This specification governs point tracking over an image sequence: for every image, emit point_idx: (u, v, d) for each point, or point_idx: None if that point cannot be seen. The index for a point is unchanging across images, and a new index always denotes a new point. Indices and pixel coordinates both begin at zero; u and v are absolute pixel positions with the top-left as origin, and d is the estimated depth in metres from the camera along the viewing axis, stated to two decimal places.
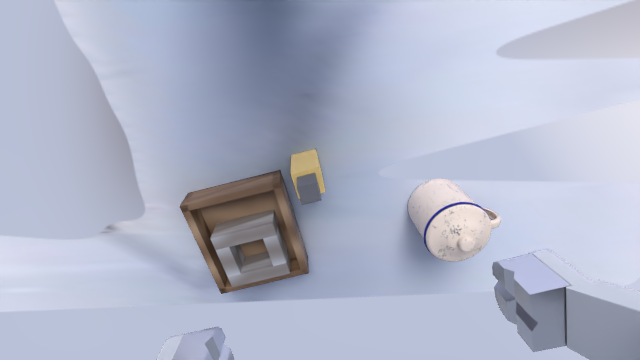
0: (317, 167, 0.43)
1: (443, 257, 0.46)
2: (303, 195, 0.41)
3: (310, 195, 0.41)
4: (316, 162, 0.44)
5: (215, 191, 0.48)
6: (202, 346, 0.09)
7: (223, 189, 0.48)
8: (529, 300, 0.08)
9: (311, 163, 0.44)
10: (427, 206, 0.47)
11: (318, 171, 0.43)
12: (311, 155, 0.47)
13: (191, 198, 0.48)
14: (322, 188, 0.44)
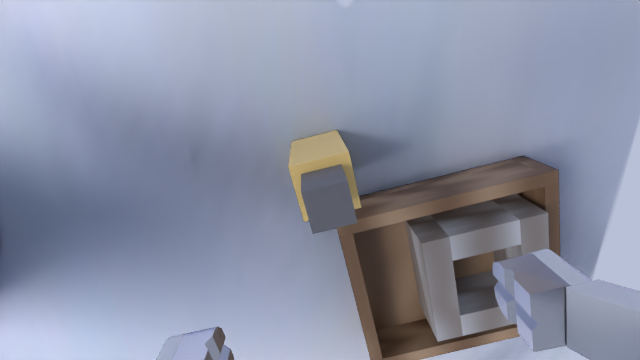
0: (290, 169, 0.20)
1: None
2: (333, 219, 0.18)
3: (334, 205, 0.17)
4: None
5: None
6: (202, 346, 0.09)
7: None
8: (529, 300, 0.08)
9: None
10: None
11: (298, 167, 0.20)
12: None
13: None
14: (339, 158, 0.20)
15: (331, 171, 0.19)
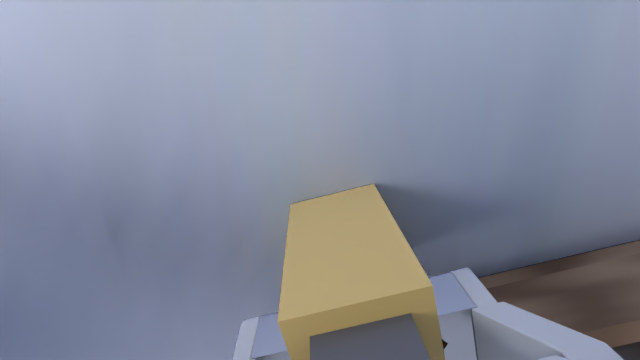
0: (282, 324, 0.08)
1: None
2: None
3: None
4: None
5: None
6: None
7: None
8: None
9: None
10: None
11: (304, 321, 0.08)
12: None
13: None
14: (407, 300, 0.08)
15: (392, 351, 0.07)
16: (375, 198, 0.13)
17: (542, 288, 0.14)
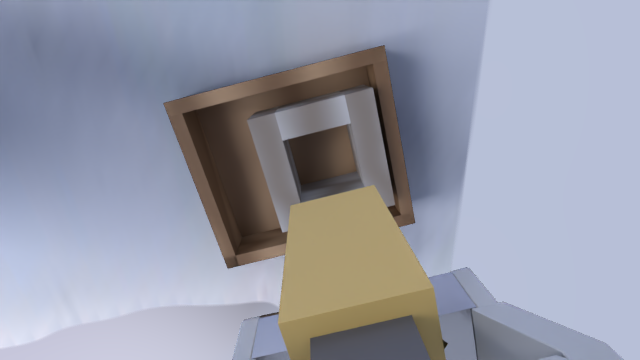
0: (282, 326, 0.08)
1: None
2: None
3: None
4: None
5: None
6: None
7: None
8: None
9: None
10: None
11: (304, 323, 0.08)
12: None
13: None
14: (408, 302, 0.08)
15: (393, 353, 0.07)
16: (375, 199, 0.13)
17: None
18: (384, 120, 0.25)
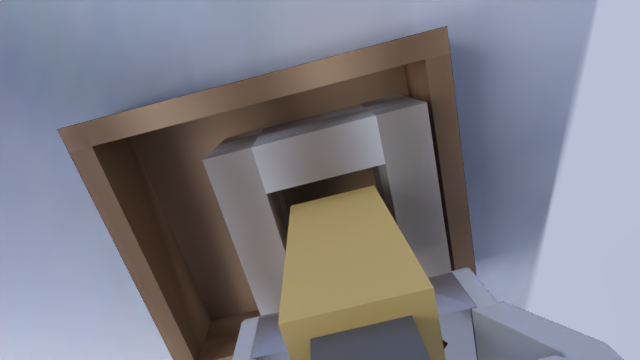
0: (282, 326, 0.08)
1: None
2: None
3: None
4: None
5: None
6: None
7: None
8: None
9: None
10: None
11: (304, 323, 0.08)
12: None
13: None
14: (408, 302, 0.08)
15: (393, 354, 0.07)
16: (375, 200, 0.13)
17: None
18: (440, 156, 0.15)
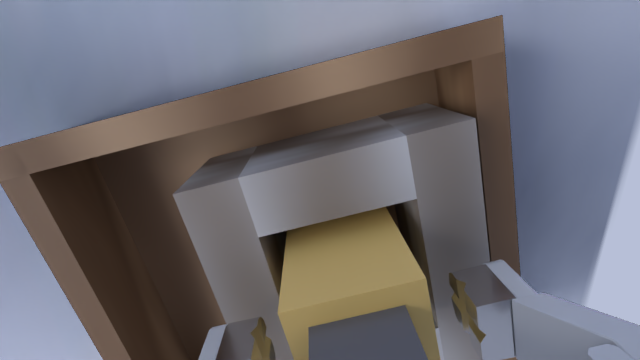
0: (282, 315, 0.08)
1: None
2: None
3: None
4: None
5: None
6: (248, 335, 0.09)
7: None
8: (476, 312, 0.08)
9: None
10: None
11: (303, 313, 0.08)
12: None
13: None
14: (402, 292, 0.08)
15: (387, 340, 0.07)
16: None
17: None
18: (485, 185, 0.11)
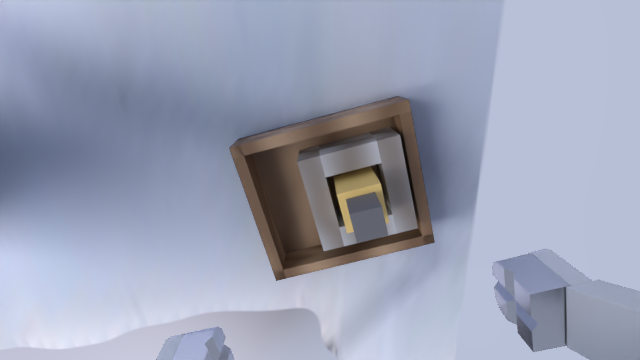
0: (337, 195, 0.28)
1: None
2: (371, 233, 0.25)
3: (372, 223, 0.25)
4: None
5: None
6: (202, 346, 0.09)
7: None
8: (529, 300, 0.08)
9: None
10: None
11: (344, 194, 0.28)
12: None
13: None
14: (373, 187, 0.27)
15: (368, 198, 0.27)
16: None
17: (313, 121, 0.32)
18: (408, 159, 0.31)
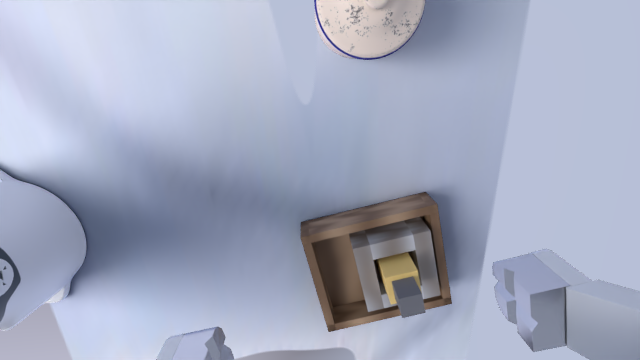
0: (385, 278, 0.37)
1: (412, 23, 0.28)
2: (413, 311, 0.35)
3: (414, 304, 0.35)
4: (382, 270, 0.39)
5: None
6: (202, 346, 0.09)
7: None
8: (529, 300, 0.08)
9: (383, 275, 0.39)
10: (335, 47, 0.32)
11: (390, 278, 0.37)
12: (377, 260, 0.42)
13: None
14: (412, 273, 0.37)
15: (409, 282, 0.36)
16: None
17: (361, 212, 0.41)
18: (435, 244, 0.41)
